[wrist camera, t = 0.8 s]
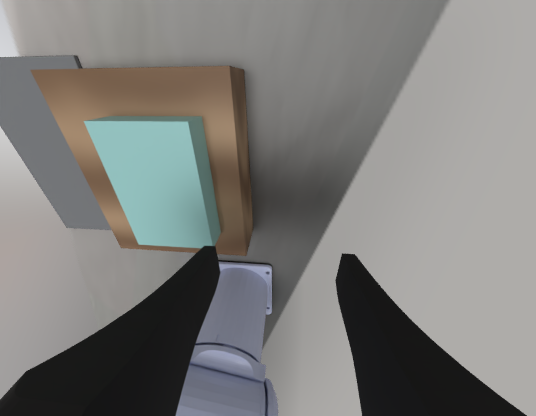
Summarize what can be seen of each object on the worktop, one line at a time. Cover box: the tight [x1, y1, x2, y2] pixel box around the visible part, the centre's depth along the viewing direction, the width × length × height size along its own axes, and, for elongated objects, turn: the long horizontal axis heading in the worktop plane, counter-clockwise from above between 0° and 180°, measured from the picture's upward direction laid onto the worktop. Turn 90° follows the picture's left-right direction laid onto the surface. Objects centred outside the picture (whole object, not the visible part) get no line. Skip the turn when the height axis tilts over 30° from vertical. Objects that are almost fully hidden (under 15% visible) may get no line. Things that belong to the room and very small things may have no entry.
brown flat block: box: [30, 66, 253, 256], centre depth 17 cm, size 14×12×4 cm
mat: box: [0, 56, 112, 230], centre depth 19 cm, size 16×10×1 cm, turn 1°
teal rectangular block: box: [84, 116, 221, 248], centre depth 14 cm, size 9×6×2 cm, turn 1°
